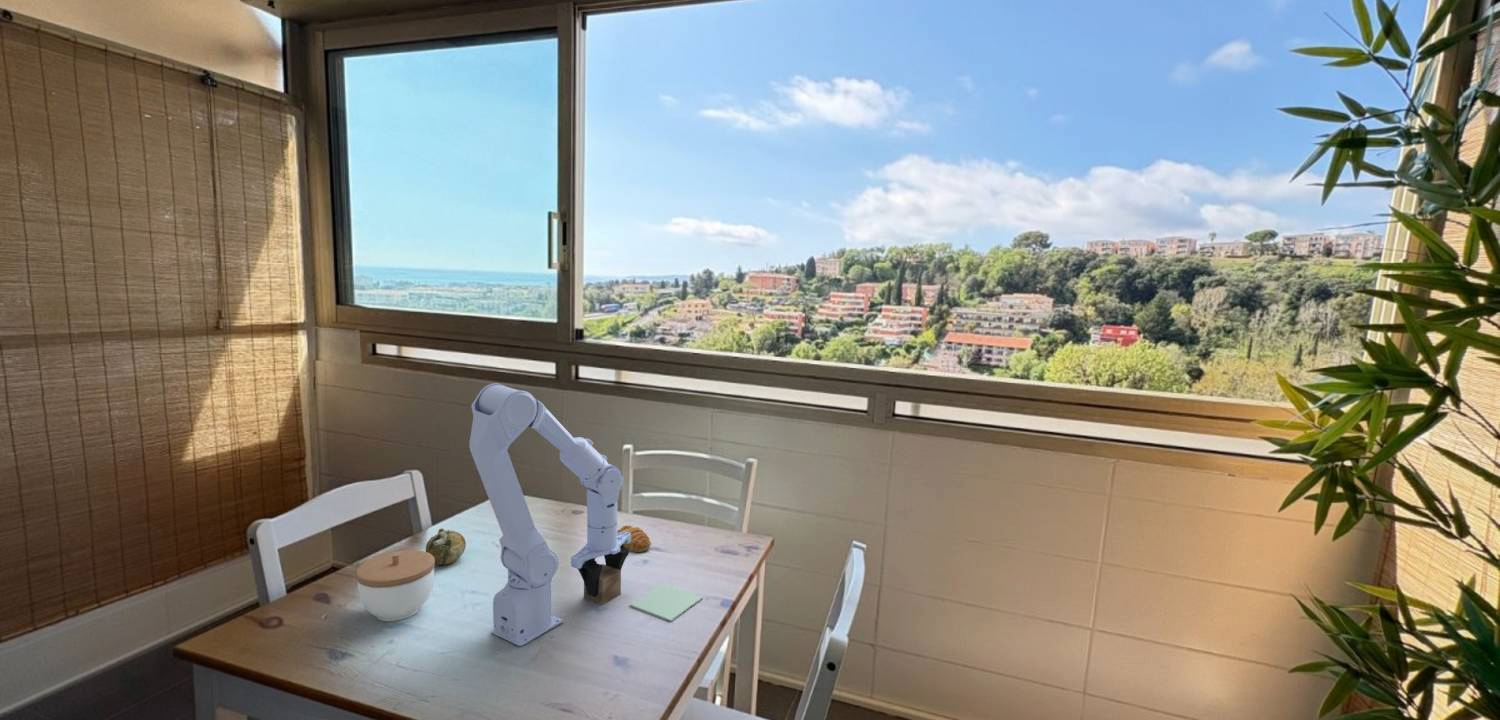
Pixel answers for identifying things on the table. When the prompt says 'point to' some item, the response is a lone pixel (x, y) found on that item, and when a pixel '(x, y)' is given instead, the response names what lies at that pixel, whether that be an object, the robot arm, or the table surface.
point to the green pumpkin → (446, 546)
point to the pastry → (636, 539)
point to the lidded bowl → (396, 583)
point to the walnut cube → (607, 585)
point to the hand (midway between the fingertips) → (602, 589)
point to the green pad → (666, 602)
